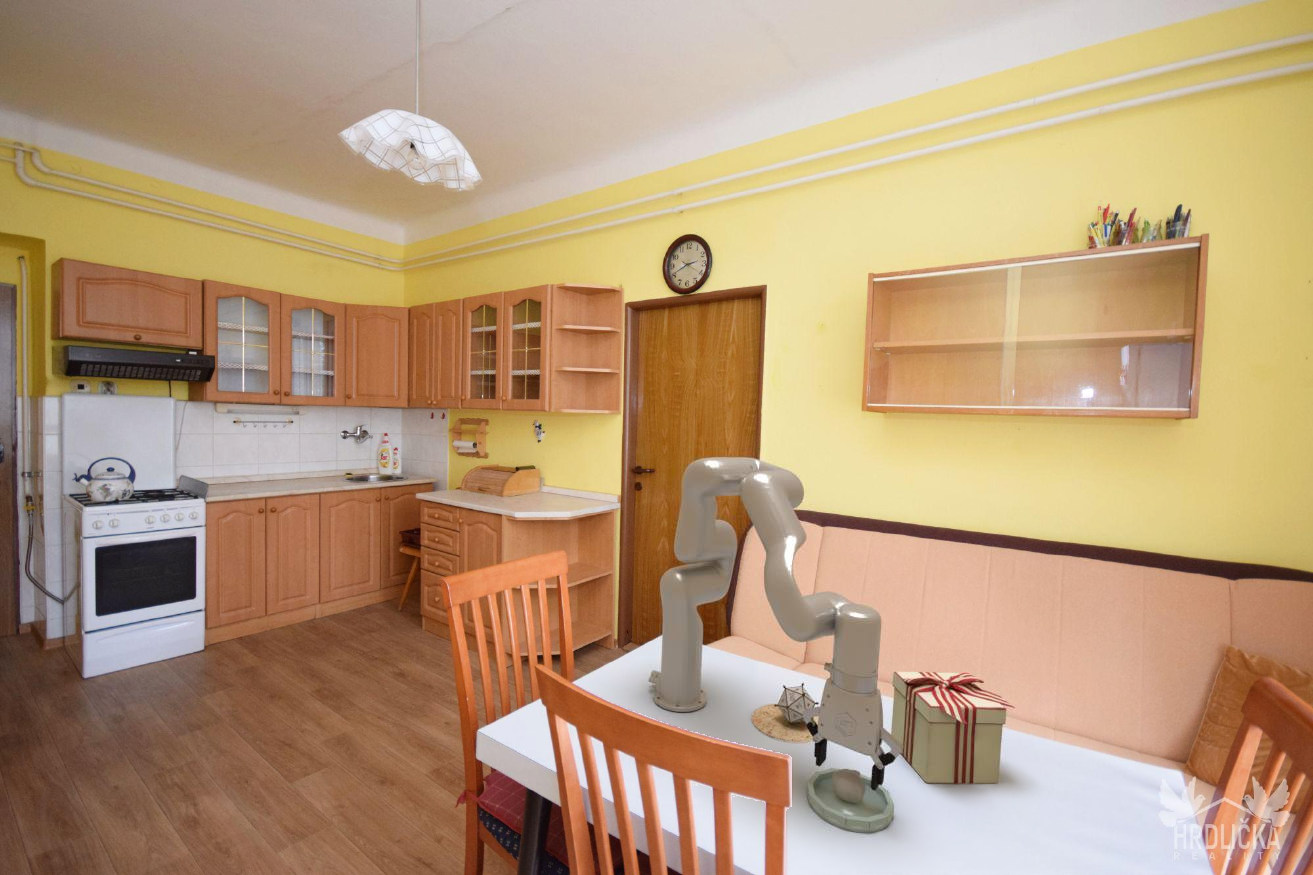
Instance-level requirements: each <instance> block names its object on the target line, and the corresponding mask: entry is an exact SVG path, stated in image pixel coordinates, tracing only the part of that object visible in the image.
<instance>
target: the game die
mask: <svg viewBox="0 0 1313 875" xmlns="http://www.w3.org/2000/svg"><path fill="white" fill-rule="evenodd" d="M804 683H805V682H803V681H802V683H801V684H800V685H799V686H791V687H787V686H786V685H784V684H783V685H782V688H783V689H784V690H783V692H782V694H781V696H780V698H779V700H778V703H777V704H776V703H775V704H773V707H777V708H778V710H780V712H781V714H783V716H784V717H785V718H786V720H787V721H788V725H791V726H792V724H795V723H801V722H802V723H803V722H805V720H804V717H803V714H802V712H803V711H804V710H805V709H806V708H813V707H816V705H819V704H820V703H819V701H816V702H815V700H814V699H813V698H812V697H811V695H810V694H809V693H808V691H807V690H806V689H805V688H804V685H805V684H804Z"/></svg>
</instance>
